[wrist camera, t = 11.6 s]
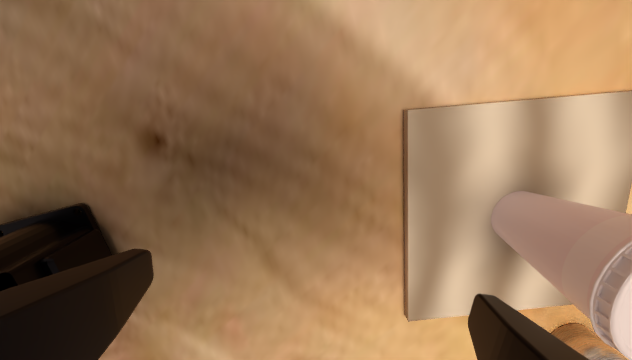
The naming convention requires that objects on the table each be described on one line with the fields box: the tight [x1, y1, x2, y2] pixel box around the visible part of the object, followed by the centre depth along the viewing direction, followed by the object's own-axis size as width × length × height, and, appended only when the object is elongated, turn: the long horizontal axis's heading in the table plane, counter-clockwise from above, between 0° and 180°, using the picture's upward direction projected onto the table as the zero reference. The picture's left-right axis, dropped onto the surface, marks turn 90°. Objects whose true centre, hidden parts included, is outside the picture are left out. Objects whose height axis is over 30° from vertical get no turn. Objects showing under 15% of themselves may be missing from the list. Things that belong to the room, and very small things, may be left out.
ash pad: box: [404, 91, 632, 321], centre depth 21 cm, size 16×16×1 cm
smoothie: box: [491, 191, 632, 360], centre depth 14 cm, size 6×6×14 cm
